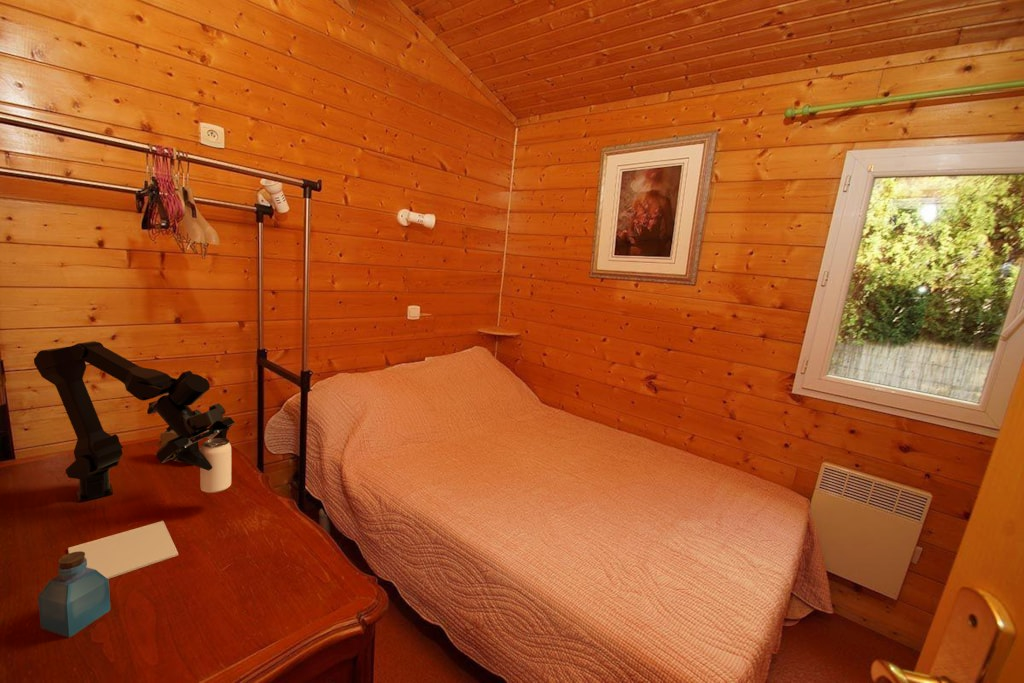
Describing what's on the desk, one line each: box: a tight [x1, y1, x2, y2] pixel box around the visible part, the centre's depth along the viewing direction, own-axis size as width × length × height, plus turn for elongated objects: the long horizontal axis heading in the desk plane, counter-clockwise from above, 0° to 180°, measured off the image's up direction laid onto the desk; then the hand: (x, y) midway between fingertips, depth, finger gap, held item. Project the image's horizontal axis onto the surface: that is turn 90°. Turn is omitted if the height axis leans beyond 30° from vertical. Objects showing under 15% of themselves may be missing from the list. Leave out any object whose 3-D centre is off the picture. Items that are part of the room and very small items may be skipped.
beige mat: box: [67, 520, 179, 580], centre depth 93 cm, size 16×16×1 cm
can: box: [199, 438, 232, 494], centre depth 109 cm, size 6×6×12 cm
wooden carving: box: [155, 430, 202, 463], centre depth 134 cm, size 16×5×10 cm, turn 80°
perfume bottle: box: [37, 551, 111, 639], centre depth 75 cm, size 6×6×12 cm
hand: (220, 463), depth 108 cm, fingers closed on can, 6 cm apart
